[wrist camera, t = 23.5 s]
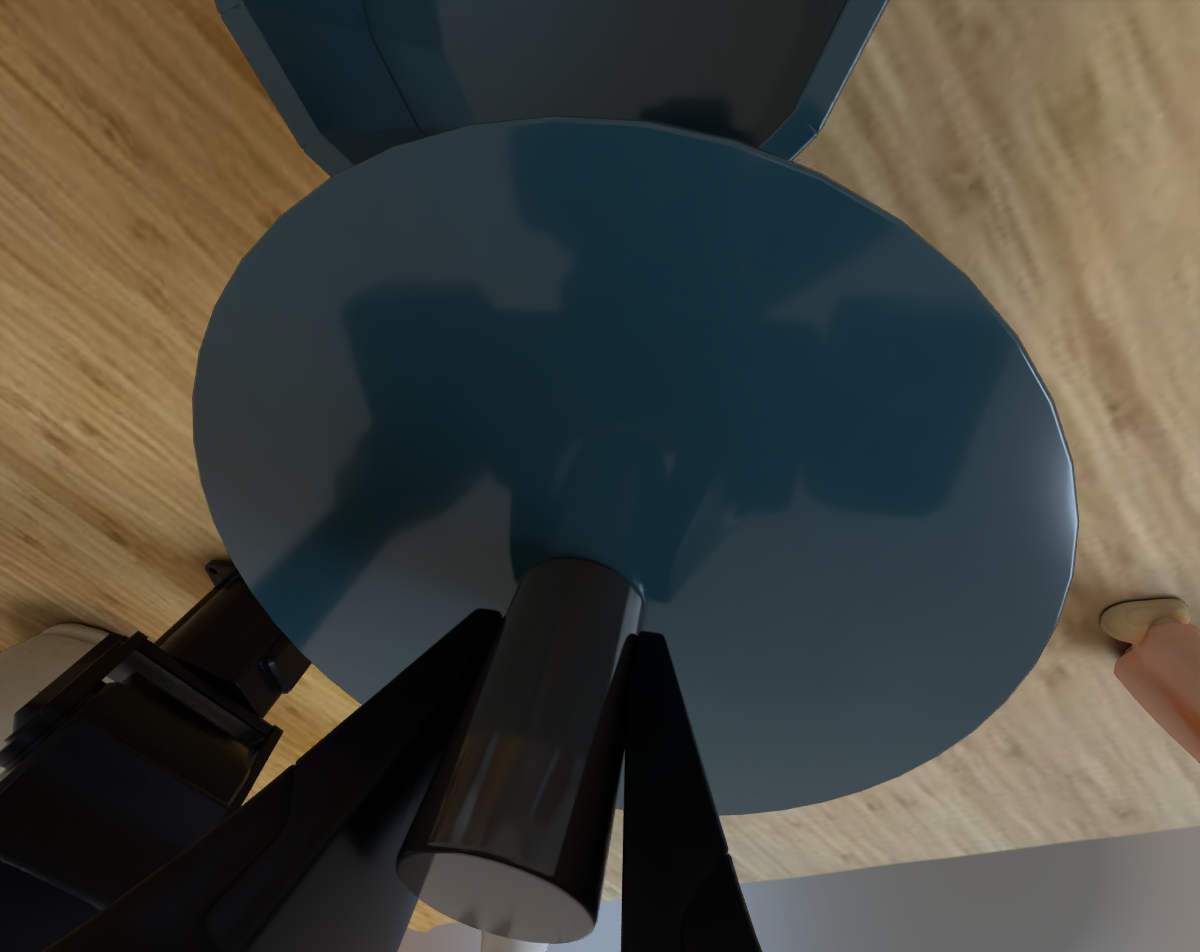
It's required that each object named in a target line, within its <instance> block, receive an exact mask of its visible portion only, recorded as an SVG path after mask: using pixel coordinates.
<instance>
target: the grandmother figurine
mask: <svg viewBox="0 0 1200 952" xmlns="http://www.w3.org/2000/svg"><path fill="white" fill-rule="evenodd" d="M1190 619H1191V613H1190V610H1189V608H1188V606H1187V604H1186V603H1185V602H1183V601H1181V600H1178V599H1157V600H1146V601H1134V602H1126V603H1122V604H1119V605H1116V606H1113V607H1111V608H1109V609H1108V610H1106V611H1105V612H1104V613H1103V615H1102V616H1101V620H1100V624H1101V628H1102V630H1103V631H1104V632H1105V633H1107V634H1108V635H1110V636H1111V637H1113V638H1115V639H1117V640H1120V641H1123V642H1128V643H1131V644H1132V645H1131V646H1130V647H1129V648H1128V649H1127V650H1126V651H1125V653H1124V655H1123V656H1121V657H1120V658H1119V659H1118V660H1117V662H1116V663H1115V668H1114V673H1115V675H1116V677H1117V678H1118V679H1119V680H1120V681H1121V683H1122V684H1123V685H1124V686H1125V687H1126V689H1127V690H1128V691H1129V692H1130V693H1131V695H1132V696H1133V697H1134V698H1135V699H1136V700H1137V701H1138V702H1139V703H1140V705H1141V706H1142V707H1143V708H1144V709H1145V710H1146V711H1147V712H1148V713H1149V714H1150V715H1151V716H1152V717H1153V718H1154V719H1155V720H1156V721H1157V723H1158V724H1159V725H1160V726H1161V727H1162V728H1163V729H1164V730H1165V731H1166V732H1167V733H1168V734H1169V735H1170V736H1171V737H1173V738H1174V739H1175V740H1176V741H1177V742H1178V743H1179V744H1180V745H1181V746H1182V747H1183V748H1184V749H1185V750H1186V751H1187V752H1188V753H1190V754H1191V755H1192V756H1193V757H1194V758H1195V759H1196V760H1197V761H1198V762H1199V763H1200V630H1199V629H1198V628H1196V627H1194V626H1193V625H1189V622H1190Z"/></svg>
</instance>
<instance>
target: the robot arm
mask: <svg viewBox="0 0 1200 952" xmlns="http://www.w3.org/2000/svg"><path fill="white" fill-rule="evenodd" d="M205 570H206V572H207V573H208V575H209V577H210V578H211V580H212V582H213V583H214V585H215V587H214V588H213V589H212V590H211V591H210V592H209V593H208V594H207V595H206V596H205V597H204V598H202V599H201V600H200V601H199V602H198V603H197V604H196V605H195V606H194V607H193V608H192V609H190V610H189V611H188V612H187V613H186V614H185V615H184V616H183V617H182V618H181V619H180V620H179V621H177V622H176V623H175V624H174V625H173V626H172V627H171V628H170V629H169V630H168V631H167V632H165V633H164V634H163V635H162V636H161V637H160V638H159V639H158V640H157V641H156V642H155V643H154V644H153V643H152V642H150V641H149V640H147V638H148V637H147V636H146V635H144V634H143V633H141V632H140V631H137V632H136V633H135V634H133V635H132V636H131V637H130V638H128V637H126V636H121V635H117V634H114V633H110V634H109V635H107V636H106V637H105V638H104V639H103V640H101V641H100V642H99V643H98V644H97V645H96V646H94V647H93V648H92V649H91V650H90V651H88V652H87V653H86V654H85V655H84V656H82V657H81V658H80V659H79V660H78V661H76V662H75V663H74V664H73V665H72V666H70V667H69V668H68V669H67V670H66V671H64V672H63V673H62V674H61V675H60V676H58V677H57V678H56V679H55V680H54V681H53V682H51V683H50V684H49V685H48V686H47V687H45V688H44V689H43V690H42V691H41V692H39V693H38V694H37V695H36V696H35V697H33V698H32V699H31V700H30V701H29V702H27V703H26V704H25V705H24V706H23V707H21V708H20V709H19V710H18V711H17V712H15V713H14V719H13V730H12V734H10V735H9V736H8V737H7V738H6V739H5V740H4V741H5V742H6V743H8V744H7V745H5V746H4V747H3V748H2V749H1V750H0V767H2V768H3V767H4V768H6V769H5V770H4V771H3V772H2V773H1V774H0V952H397V951H398V949H399V946H400V944H401V941H402V939H403V936H404V934H405V931H406V929H407V926H408V924H409V921H410V919H411V916H412V914H413V911H414V909H415V906H416V904H417V901H418V899H419V898H417V897H416V896H415V895H414V894H413V893H412V892H411V891H410V890H408V889H407V888H406V886H405V885H404V884H403V883H402V882H401V880H400V879H399V877H398V875H397V873H396V867H395V866H396V858H397V855H398V852H399V850H400V848H401V846H402V843H403V841H404V839H405V837H406V834H407V832H408V830H409V828H410V825H411V823H412V821H413V819H414V816H415V814H416V812H417V810H418V807H419V805H420V803H421V801H422V798H423V796H424V794H425V792H426V789H427V787H428V785H429V783H430V780H431V778H432V776H433V774H434V771H435V769H436V767H437V765H438V762H439V760H440V758H441V756H442V753H443V751H444V749H445V747H446V744H447V742H448V740H449V738H450V736H451V733H452V731H453V729H454V727H455V724H456V722H457V720H458V718H459V715H460V713H461V711H462V709H463V706H464V704H465V702H466V700H467V697H468V695H469V693H470V691H471V688H472V686H473V684H474V682H475V679H476V677H477V675H478V673H479V670H480V668H481V666H482V664H483V661H484V659H485V657H486V655H487V652H488V650H489V648H490V646H491V643H492V641H493V639H494V637H495V634H496V632H497V630H498V628H499V625H500V623H501V621H502V619H503V618H502V614H501V613H500V612H499V611H497V610H492V609H484V608H479V609H476V610H474V611H473V612H472V613H471V614H469V615H468V616H467V617H466V618H465V619H463V620H462V621H461V622H460V623H459V624H458V625H456V626H455V627H454V628H453V629H452V630H450V631H449V632H448V633H447V634H446V635H445V636H443V637H442V638H441V639H440V640H439V641H437V642H436V643H435V644H434V645H433V646H432V647H430V648H429V649H428V650H427V651H426V652H424V653H423V654H422V655H421V656H420V657H419V658H417V659H416V660H415V661H414V662H413V663H411V664H410V665H409V666H408V667H407V668H406V669H404V670H403V671H402V672H401V673H400V674H398V675H397V676H396V677H395V678H394V679H393V680H391V681H390V682H389V683H388V684H387V685H385V686H384V687H383V688H382V689H381V690H380V691H378V692H377V693H376V694H375V695H374V696H372V697H371V698H370V699H369V700H368V701H367V702H365V703H364V704H363V705H362V706H361V707H359V708H358V709H357V710H356V711H355V712H354V713H352V714H351V715H350V716H349V717H348V718H346V719H345V720H344V721H343V722H342V723H341V724H339V725H338V726H337V727H336V728H335V729H333V730H332V731H331V732H330V733H329V734H328V735H326V736H325V737H324V738H323V739H322V740H320V741H319V742H318V743H317V744H316V745H315V746H313V747H312V748H311V749H310V750H309V751H307V752H306V753H305V754H304V755H303V756H302V757H300V758H299V759H298V760H297V761H296V764H295V765H291V766H289V767H288V768H287V769H286V770H285V771H284V772H282V773H281V774H280V775H279V776H278V777H276V778H275V779H274V780H273V781H272V782H271V783H269V784H268V785H267V786H266V787H264V788H263V789H262V790H261V791H260V792H258V793H257V794H256V795H255V796H253V797H252V798H251V799H250V800H248V801H247V802H246V803H245V804H244V805H242V804H243V802H244V800H245V799H246V797H247V795H248V793H249V791H250V790H251V788H252V786H253V784H254V783H255V781H256V779H257V777H258V776H259V774H260V772H261V770H262V769H263V767H264V765H265V763H266V762H267V760H268V758H269V756H270V754H271V753H272V751H273V749H274V747H275V746H276V744H277V742H278V740H279V739H280V737H281V735H282V733H283V730H282V729H280V728H279V727H277V726H276V725H274V726H272V725H271V724H269V723H268V722H267V721H265V720H264V719H263V718H264V717H265V715H266V714H267V713H268V711H269V710H270V709H271V707H272V706H273V705H274V703H275V702H276V701H277V700H278V698H279V697H280V696H281V694H282V693H283V694H287V693H288V692H290V691H291V690H292V688H293V687H294V686H295V684H296V683H297V682H298V681H299V679H300V678H301V677H302V675H303V674H304V673H305V671H306V670H307V669H308V667H309V666H310V665H311V663H312V662H311V661H310V660H309V659H307V658H306V657H305V656H304V655H303V654H302V653H301V652H300V651H299V650H298V649H297V648H296V646H295V645H294V644H293V643H292V642H291V641H290V640H289V639H288V638H287V636H286V635H285V634H284V633H283V632H282V631H281V630H280V629H279V628H278V626H277V625H276V624H275V623H274V622H273V620H272V619H271V618H270V616H269V615H268V614H267V612H266V611H265V610H264V608H263V607H262V606H261V604H260V603H259V602H258V600H257V599H256V598H255V596H254V595H253V594H252V593H251V591H250V589H249V588H248V586H247V584H246V583H245V581H244V579H243V578H242V576H241V574H240V573H239V571H238V570H237V568H236V566H235V565H234V563H233V562H229V561H221V560H211V561H210V562H209V563H208V564H207V565H205ZM106 676H107V677H108V678H110V679H111V680H113V681H114V682H111V683H105V682H104V681H102V680H103V679H104V678H105V677H106ZM241 805H242V806H241ZM727 853H728V846H727V843H726V839H725V836H724V832H723V829H722V826H721V822H720V819H719V816H718V812H717V809H716V806H715V802H714V799H713V796H712V792H711V789H710V786H709V782H708V779H707V776H706V772H705V769H704V766H703V762H702V759H701V756H700V752H699V749H698V746H697V742H696V739H695V736H694V732H693V729H692V726H691V722H690V719H689V716H688V712H687V709H686V706H685V702H684V699H683V696H682V692H681V689H680V686H679V682H678V679H677V676H676V672H675V669H674V666H673V662H672V659H671V656H670V652H669V649H668V646H667V642H666V639H665V637H664V635H663V634H661V633H656V632H649V631H641V632H640V633H639V635H638V639H637V644H636V649H635V654H634V660H633V665H632V670H631V675H630V680H629V685H628V691H627V698H626V714H625V767H624V819H623V871H622V925H621V952H762V950H761V947H760V944H759V942H758V939H757V937H756V934H755V931H754V927H753V924H752V921H751V919H750V915H749V912H748V909H747V906H746V903H745V900H744V897H743V894H742V891H741V888H740V885H739V881H738V878H737V875H736V871H735V868H734V865H733V862H732V858H731V856H730V855H729V854H727Z"/></svg>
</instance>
